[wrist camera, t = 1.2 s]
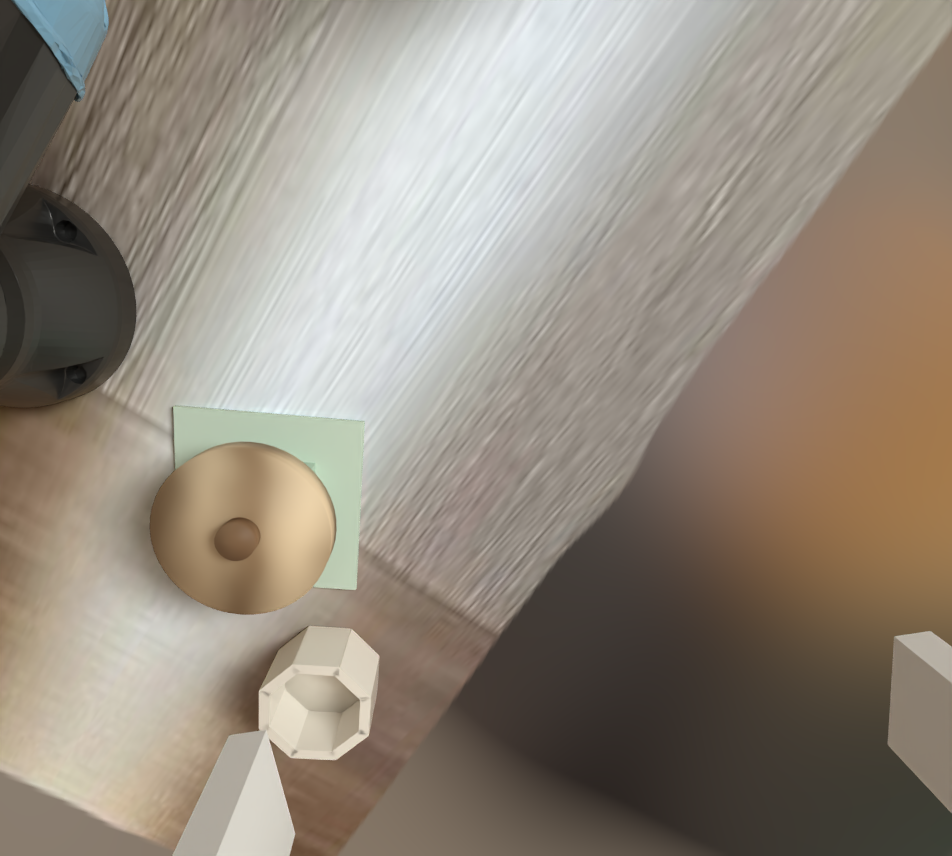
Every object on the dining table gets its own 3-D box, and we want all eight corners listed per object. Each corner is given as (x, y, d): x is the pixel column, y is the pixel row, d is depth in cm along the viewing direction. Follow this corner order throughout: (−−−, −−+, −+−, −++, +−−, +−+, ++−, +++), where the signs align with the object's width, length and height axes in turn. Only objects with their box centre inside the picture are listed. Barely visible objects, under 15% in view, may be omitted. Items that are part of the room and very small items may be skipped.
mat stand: (180, 575, 47) (153, 605, 43) (175, 405, 43) (145, 419, 39) (356, 587, 48) (346, 617, 43) (364, 421, 44) (355, 436, 40)
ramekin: (277, 710, 50) (258, 756, 45) (278, 623, 48) (259, 662, 43) (375, 715, 51) (367, 761, 46) (381, 630, 49) (372, 669, 44)
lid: (167, 593, 42) (144, 618, 39) (161, 434, 40) (136, 447, 36) (333, 604, 43) (324, 629, 40) (339, 448, 40) (330, 463, 37)
